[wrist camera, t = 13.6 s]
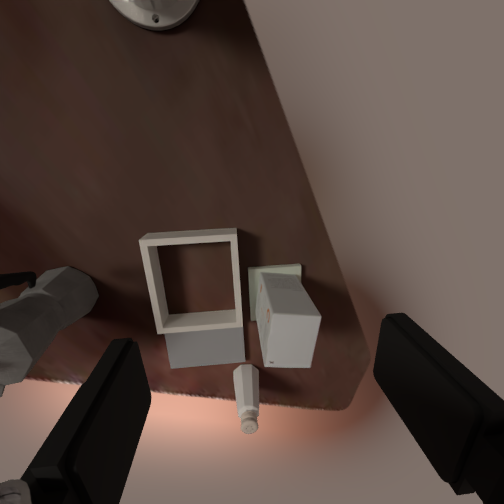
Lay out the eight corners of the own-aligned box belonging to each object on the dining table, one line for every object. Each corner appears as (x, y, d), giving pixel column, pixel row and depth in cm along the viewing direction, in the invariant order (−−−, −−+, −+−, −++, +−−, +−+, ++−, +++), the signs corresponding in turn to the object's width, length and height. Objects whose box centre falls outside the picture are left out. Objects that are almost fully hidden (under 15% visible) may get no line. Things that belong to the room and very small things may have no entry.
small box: (289, 314, 45) (311, 369, 32) (254, 312, 44) (263, 368, 32) (296, 273, 42) (323, 316, 30) (259, 270, 41) (271, 313, 29)
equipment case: (147, 233, 39) (138, 240, 35) (236, 227, 40) (236, 233, 36) (172, 364, 47) (167, 381, 44) (245, 358, 48) (246, 374, 44)
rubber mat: (247, 267, 42) (248, 269, 41) (299, 263, 43) (301, 265, 42) (250, 317, 45) (250, 320, 44) (298, 313, 46) (300, 316, 45)
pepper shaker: (228, 368, 49) (226, 423, 38) (253, 359, 49) (259, 411, 38) (238, 388, 51) (240, 444, 40) (263, 379, 50) (271, 434, 40)
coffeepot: (99, 327, 44) (15, 429, 27) (41, 321, 43) (-86, 422, 26) (101, 246, 39) (0, 305, 22) (36, 235, 38) (-124, 290, 21)
